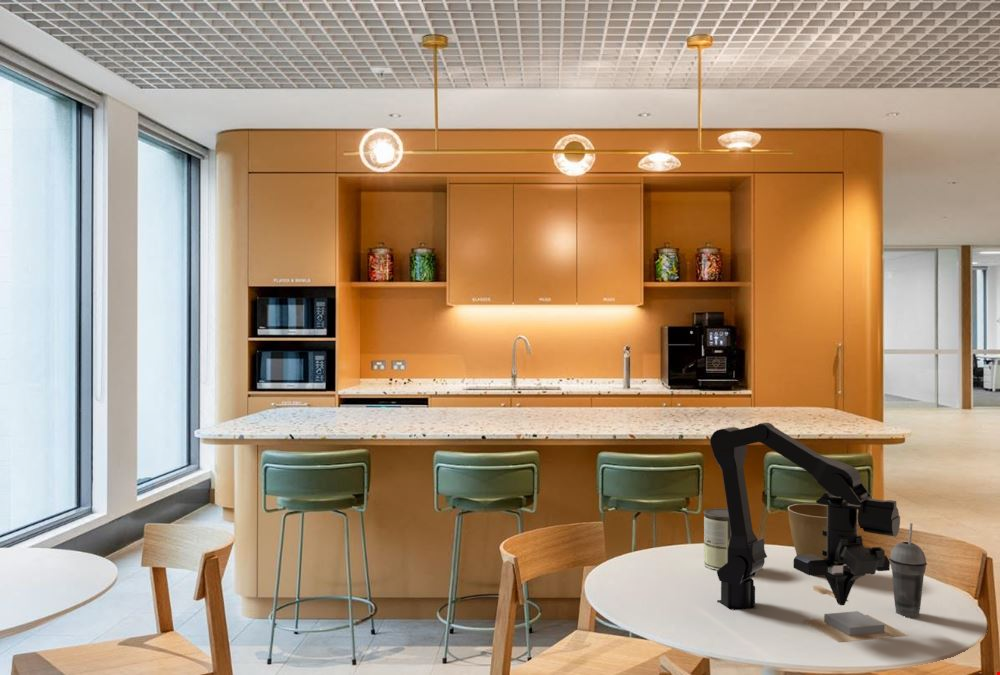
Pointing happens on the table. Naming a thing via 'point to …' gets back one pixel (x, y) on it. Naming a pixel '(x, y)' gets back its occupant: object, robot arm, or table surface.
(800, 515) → the plant pot
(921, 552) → the beverage cup
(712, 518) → the coffee can
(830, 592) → the wooden turner
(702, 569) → the table surface
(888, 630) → the cork mat
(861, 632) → the slate tile
